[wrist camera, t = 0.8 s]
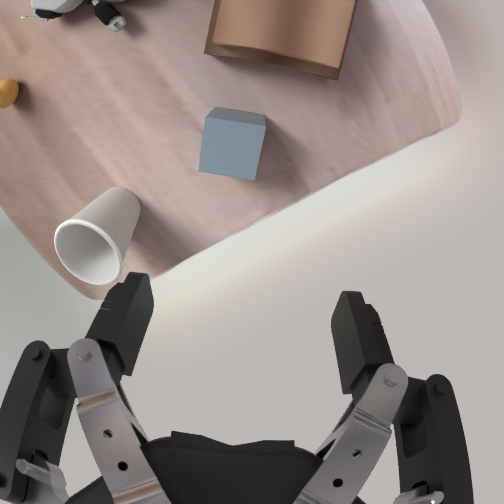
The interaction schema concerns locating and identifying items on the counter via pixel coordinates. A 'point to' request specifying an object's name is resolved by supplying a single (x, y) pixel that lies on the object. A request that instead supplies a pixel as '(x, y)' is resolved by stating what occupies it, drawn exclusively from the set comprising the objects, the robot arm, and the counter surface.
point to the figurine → (8, 92)
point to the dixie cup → (99, 236)
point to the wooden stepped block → (283, 33)
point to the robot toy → (57, 3)
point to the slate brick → (232, 143)
